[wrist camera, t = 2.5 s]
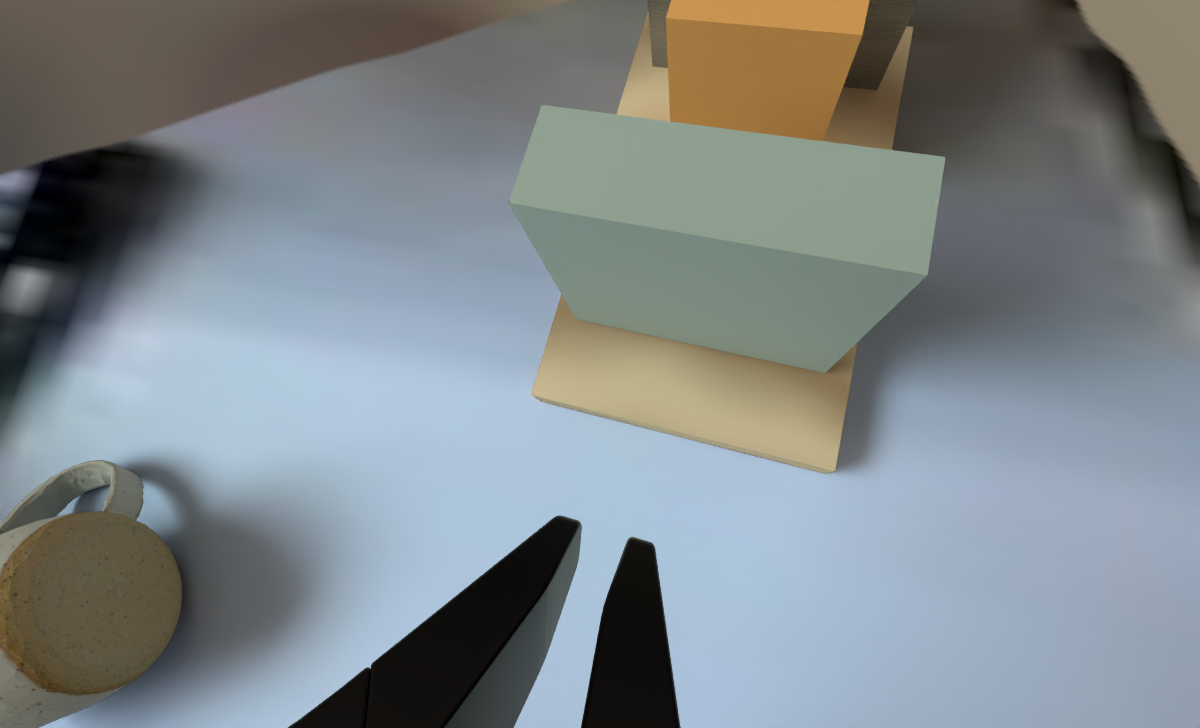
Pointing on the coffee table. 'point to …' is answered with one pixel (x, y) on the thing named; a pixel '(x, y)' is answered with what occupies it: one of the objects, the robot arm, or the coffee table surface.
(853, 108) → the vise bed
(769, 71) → the block
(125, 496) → the ceramic mug
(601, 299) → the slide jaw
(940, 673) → the coffee table surface
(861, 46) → the block
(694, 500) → the coffee table surface
